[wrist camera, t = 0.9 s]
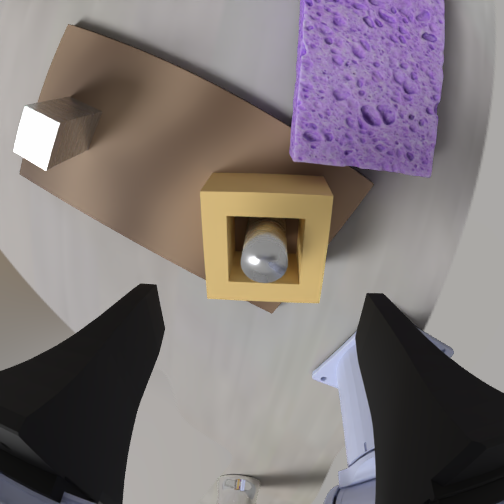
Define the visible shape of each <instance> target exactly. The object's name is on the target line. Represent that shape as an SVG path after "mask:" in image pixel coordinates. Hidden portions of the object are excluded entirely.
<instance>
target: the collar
mask: <svg viewBox="0 0 504 504" xmlns="http://www.w3.org/2000/svg"><path fill="white" fill-rule="evenodd" d="M200 200H201V217H202V233H203V248H204V261H205V274H206V286H207V298H208V299H225V300H244V301H267V302H295V303H319V301H320V295H321V289H322V282H323V275H324V268H325V261H326V254H327V247H328V239H329V231H330V223H331V214H332V205H333V194H332V192H331V190H330V188H329V186H328V184H327V182H326V180H325V178H324V176H308V175H288V174H262V173H212V174H211V176H210V177H209V179H208V180H207V182H206V183H205V185H204V186H203V188H202V189H201V191H200ZM235 216H245V217H274V218H299V226H298V239H297V251H296V254H293V253H287V256H288V267H287V270H286V272H285V273H284V275H283V276H282V277H281V278H279V279H278V280H276V281H274V282H270V283H260V282H256V281H253V280H251V279H250V278H248V277H247V276H246V275H245V273H244V272H243V270H242V268H241V257H242V252H241V251H235Z"/></svg>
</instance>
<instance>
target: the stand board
mask: <svg viewBox="0 0 504 504" xmlns="http://www.w3.org/2000/svg"><path fill="white" fill-rule="evenodd" d="M290 138H291V127H290V126H288V125H287V124H285V123H283V122H282V121H280V120H278V119H277V118H275V117H273V116H272V115H270V114H268V113H267V112H265V111H263V110H261V109H260V108H258V107H256V106H254V105H253V104H251V103H249V102H247V101H245V100H244V99H242V98H240V97H238V96H236V95H234V94H233V93H231V92H229V91H227V90H225V89H223V88H221V87H219V86H217V85H215V84H213V83H211V82H209V81H208V80H206V79H204V78H201V77H199V76H197V75H195V74H193V73H191V72H189V71H187V70H185V69H183V68H181V67H179V66H176V65H174V64H172V63H170V62H168V61H165V60H163V59H161V58H159V57H156V56H154V55H152V54H149V53H147V52H145V51H142V50H140V49H137V48H135V47H132V46H130V45H127V44H125V43H122V42H120V41H117V40H115V39H112V38H109V37H107V36H104V35H101V34H98V33H95V32H93V31H90V30H87V29H84V28H81V27H78V26H75V25H69V24H68V26H67V28H66V30H65V32H64V35H63V37H62V39H61V41H60V44H59V46H58V48H57V51H56V53H55V56H54V58H53V60H52V63H51V66H50V68H49V71H48V73H47V76H46V79H45V82H44V85H43V88H42V90H41V93H40V96H39V100H38V103H34V104H29V105H25V107H24V110H23V114H22V118H21V121H20V125H19V129H18V133H17V138H16V142H15V146H14V152H15V153H17V154H19V155H20V156H22V157H23V159H22V164H21V169H20V175H22V176H23V177H25V178H27V179H28V180H30V181H31V182H33V183H35V184H36V185H38V186H40V187H41V188H43V189H45V190H46V191H48V192H49V193H51V194H53V195H54V196H56V197H58V198H59V199H61V200H63V201H64V202H66V203H68V204H70V205H71V206H73V207H75V208H76V209H78V210H80V211H81V212H83V213H85V214H87V215H88V216H90V217H92V218H93V219H95V220H97V221H99V222H100V223H102V224H104V225H106V226H107V227H109V228H111V229H113V230H114V231H116V232H118V233H120V234H122V235H123V236H125V237H127V238H129V239H130V240H132V241H134V242H136V243H138V244H139V245H141V246H143V247H145V248H147V249H149V250H150V251H152V252H154V253H156V254H158V255H160V256H161V257H163V258H165V259H167V260H169V261H171V262H173V263H174V264H176V265H178V266H180V267H182V268H184V269H186V270H188V271H189V272H191V273H193V274H195V275H197V276H199V277H201V278H203V279H205V280H206V274H205V261H204V248H203V233H202V217H201V200H200V191H201V189H202V188H203V186H204V185H205V183H206V182H207V180H208V179H209V177H210V176H211V174H212V173H262V174H288V175H308V176H324V178H325V180H326V182H327V184H328V186H329V188H330V190H331V192H332V194H333V205H332V214H331V223H330V231H329V239H328V244H329V243H330V242H331V240H332V239H333V238H334V237H335V235H336V234H337V233H338V231H339V230H340V229H341V228H342V226H343V225H344V224H345V222H346V221H347V220H348V218H349V217H350V216H351V214H352V213H353V212H354V211H355V209H356V208H357V207H358V205H359V204H360V203H361V201H362V200H363V199H364V197H365V196H366V195H367V193H368V192H369V191H370V189H371V188H372V187H373V185H374V184H373V183H372V182H371V181H370V180H369V179H367V178H366V177H365V176H363V175H362V174H361V173H359V172H358V171H356V170H355V169H354V168H352V167H351V166H344V167H341V166H332V165H323V164H314V163H306V162H294V161H293V160H292V158H291V156H290V154H289V150H290ZM298 226H299V218H274V217H245V216H235V251H241V252H242V257H241V268H242V270H243V272H244V273H245V275H246V276H247V277H248V278H250V279H251V280H253V281H256V282H260V283H270V282H274V281H276V280H278V279H279V278H281V277H282V276H283V275H284V273H285V272H286V270H287V267H288V256H287V253H293V254H296V251H297V239H298ZM248 302H250V303H252V304H254V305H256V306H258V307H260V308H262V309H264V310H266V311H268V312H270V313H273V312H274V311H275V309H276V308H277V307H278V306H279V305H280V303H281V302H267V301H248Z"/></svg>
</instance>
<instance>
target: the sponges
mask: <svg viewBox="0 0 504 504" xmlns="http://www.w3.org/2000/svg"><path fill="white" fill-rule="evenodd" d="M444 13H445V4H444V0H301V1H300V17H299V39H298V50H297V52H298V57H297V63H296V72H297V76H296V83H295V92H294V99H293V115H292V123H291V138H290V150H289V154H290V156H291V158H292V160H293V161H294V162H306V163H314V164H323V165H332V166H341V167H344V166H356V167H359V168H361V169H372V170H377V171H381V170H385V171H389V172H397V173H403V174H406V175H412V176H422V177H427V178H430V177H431V172H432V162H433V156H434V148H435V144H436V138H437V124H438V116H437V105H438V103H439V102H440V100H441V89H442V83H443V70H442V66H443V63H444V55H443V51H444V45H445V18H444Z"/></svg>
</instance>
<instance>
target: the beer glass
mask: <svg viewBox="0 0 504 504" xmlns="http://www.w3.org/2000/svg"><path fill="white" fill-rule="evenodd" d="M217 487H218V500H217V504H256V500H257V495H258V492H259V488H260V481H259V480H258V479H256V478H253V477H250V476H244V475H223V476H220V477H219V478H218V479H217Z"/></svg>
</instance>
